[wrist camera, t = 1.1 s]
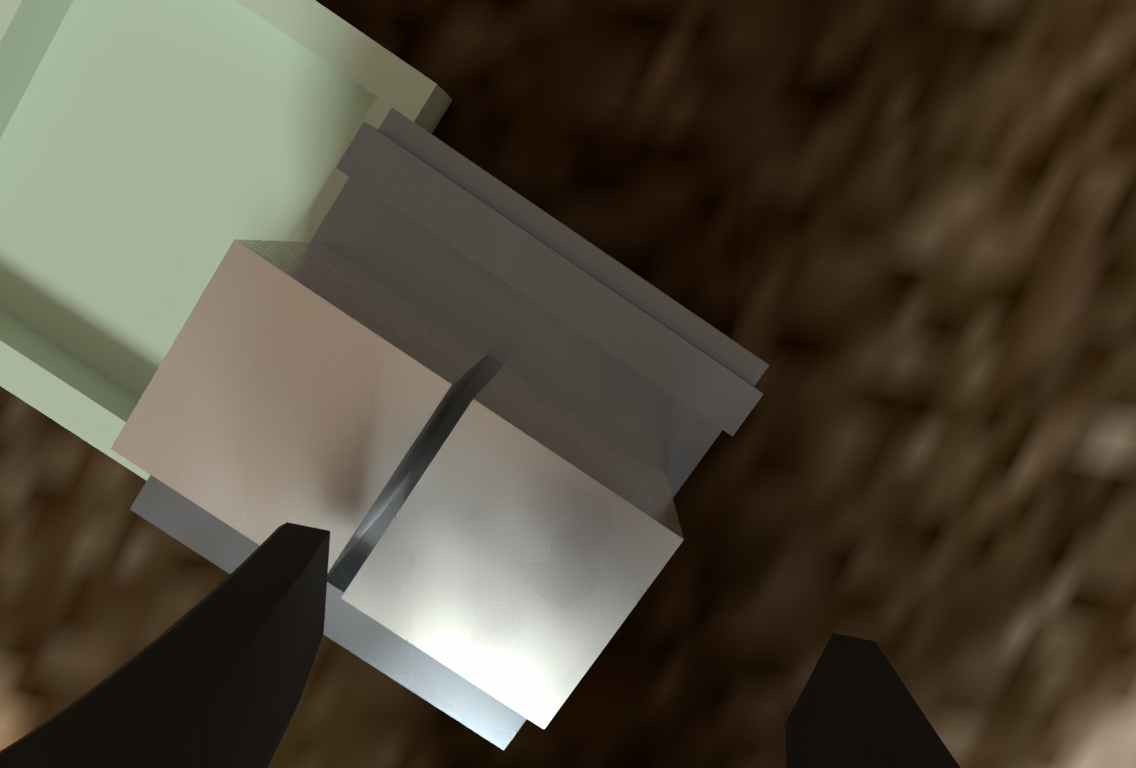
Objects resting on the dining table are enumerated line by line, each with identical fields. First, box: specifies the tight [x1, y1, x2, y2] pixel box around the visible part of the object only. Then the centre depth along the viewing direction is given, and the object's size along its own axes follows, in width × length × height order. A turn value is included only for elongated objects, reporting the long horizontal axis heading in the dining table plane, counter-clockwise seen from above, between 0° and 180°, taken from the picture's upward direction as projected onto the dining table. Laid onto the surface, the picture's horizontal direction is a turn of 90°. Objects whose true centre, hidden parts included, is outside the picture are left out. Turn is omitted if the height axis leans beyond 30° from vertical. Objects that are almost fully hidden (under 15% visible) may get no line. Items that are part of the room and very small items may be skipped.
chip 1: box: [111, 239, 488, 576], centre depth 15 cm, size 4×4×4 cm
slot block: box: [130, 108, 769, 750], centre depth 19 cm, size 9×10×6 cm
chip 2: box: [341, 365, 684, 729], centre depth 16 cm, size 4×4×4 cm
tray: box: [0, 0, 453, 480], centre depth 21 cm, size 10×12×2 cm
